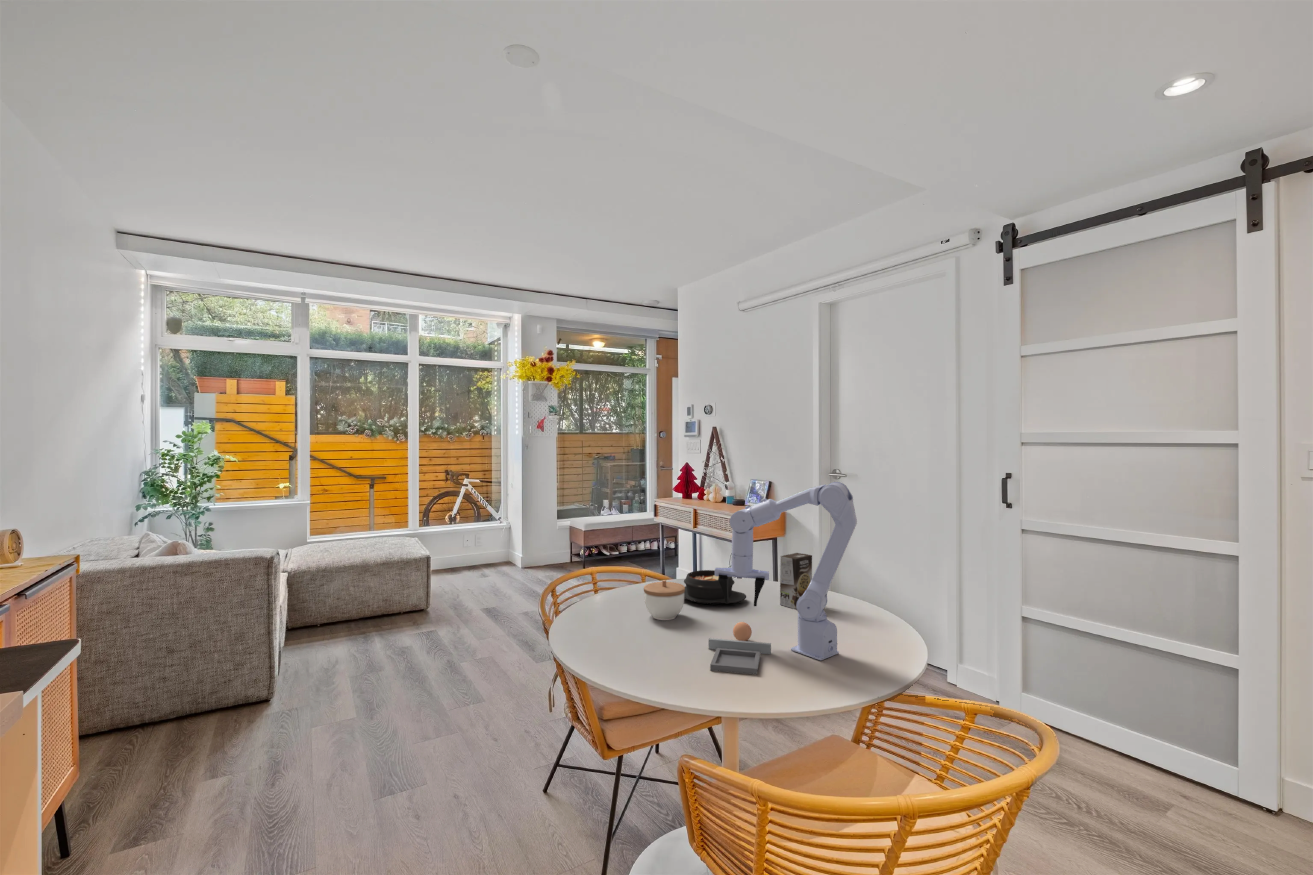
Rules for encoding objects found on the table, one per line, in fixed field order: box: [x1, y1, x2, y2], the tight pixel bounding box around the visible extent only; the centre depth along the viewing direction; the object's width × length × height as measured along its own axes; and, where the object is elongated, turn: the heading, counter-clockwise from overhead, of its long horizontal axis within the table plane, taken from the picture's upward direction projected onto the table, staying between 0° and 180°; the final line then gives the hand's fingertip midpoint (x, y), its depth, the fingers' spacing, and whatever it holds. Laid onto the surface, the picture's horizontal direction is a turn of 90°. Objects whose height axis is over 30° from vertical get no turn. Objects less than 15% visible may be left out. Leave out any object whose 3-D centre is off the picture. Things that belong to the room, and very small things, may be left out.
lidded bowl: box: [643, 579, 685, 621], centre depth 183 cm, size 13×13×11 cm
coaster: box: [709, 648, 761, 676], centre depth 146 cm, size 11×11×1 cm
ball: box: [732, 621, 753, 641], centre depth 162 cm, size 5×5×5 cm
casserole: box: [683, 569, 747, 605], centre depth 200 cm, size 25×19×8 cm
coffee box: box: [779, 552, 813, 610], centre depth 195 cm, size 9×6×16 cm
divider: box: [708, 637, 772, 655], centre depth 155 cm, size 16×1×2 cm, turn 76°
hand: (740, 603), depth 162 cm, fingers open, 7 cm apart
